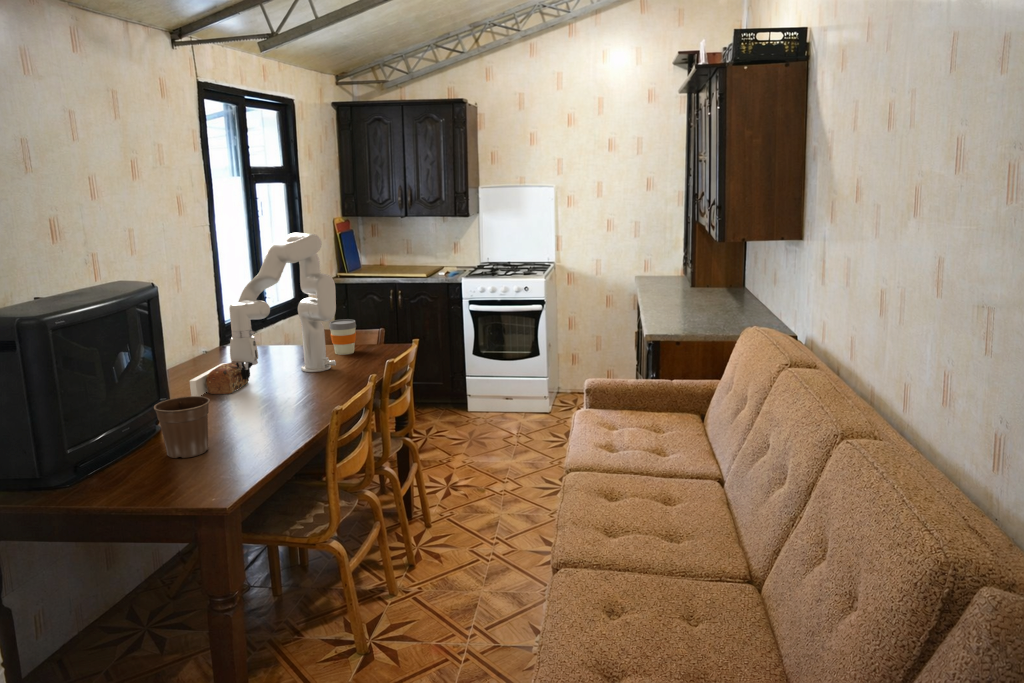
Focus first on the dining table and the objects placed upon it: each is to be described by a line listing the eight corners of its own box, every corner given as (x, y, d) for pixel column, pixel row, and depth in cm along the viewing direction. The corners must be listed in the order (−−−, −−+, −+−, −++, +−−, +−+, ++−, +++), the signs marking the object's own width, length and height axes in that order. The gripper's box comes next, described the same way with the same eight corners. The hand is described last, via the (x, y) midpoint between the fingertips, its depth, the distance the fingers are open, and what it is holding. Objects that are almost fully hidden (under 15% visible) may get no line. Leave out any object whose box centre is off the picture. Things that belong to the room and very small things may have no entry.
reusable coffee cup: (326, 354, 384) (324, 323, 381) (339, 349, 396) (337, 318, 393) (350, 356, 380) (348, 324, 377) (362, 350, 392) (360, 319, 389)
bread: (231, 395, 319) (229, 370, 317) (205, 394, 321) (203, 370, 318) (251, 382, 338) (248, 359, 336) (226, 382, 339) (224, 359, 337)
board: (229, 379, 343) (227, 363, 342) (197, 398, 316) (195, 380, 314) (223, 379, 343) (221, 363, 342) (191, 398, 316) (189, 380, 315)
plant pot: (149, 454, 254) (143, 405, 250) (196, 440, 266) (191, 393, 263) (177, 465, 244) (171, 413, 240) (225, 449, 256) (220, 400, 253)
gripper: (263, 332, 326) (267, 376, 330) (227, 332, 328) (232, 376, 331) (256, 335, 319) (260, 381, 323) (219, 336, 320) (224, 381, 324)
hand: (246, 378), depth 327 cm, fingers closed
